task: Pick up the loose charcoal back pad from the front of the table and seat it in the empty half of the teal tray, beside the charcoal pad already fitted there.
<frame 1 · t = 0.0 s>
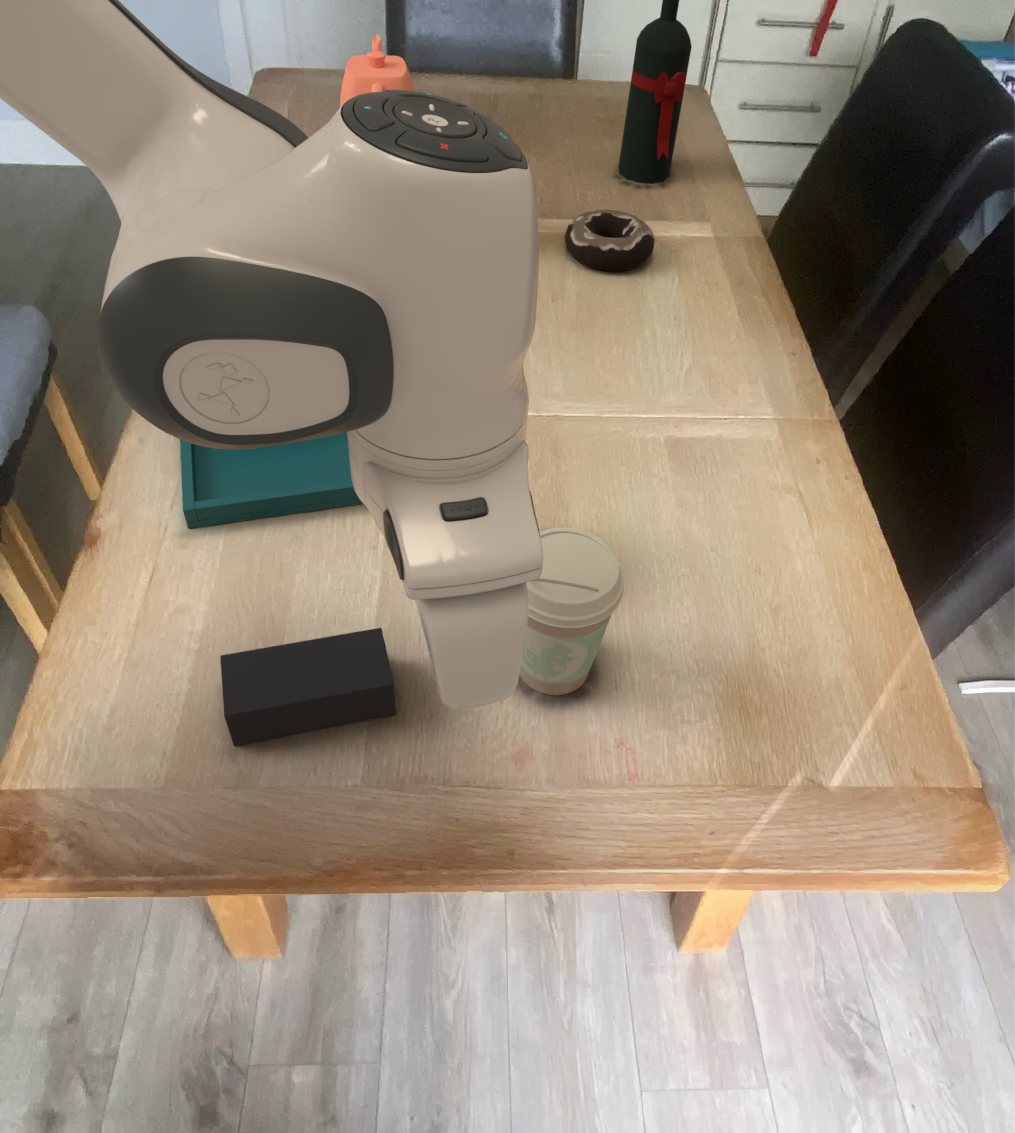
hand: (438, 623, 55), 15 cm above the table, tool pointing down, fingers open, 8 cm apart
mug: (466, 233, 122), on the table
teal tray: (275, 453, 89), on the table
coffee cup: (552, 667, 73), on the table
fitted pad: (269, 416, 91), resting on teal tray
donut: (607, 255, 119), on the table
loose pad: (312, 700, 69), on the table
ink box: (469, 568, 80), on the table
wine bottle: (645, 176, 137), on the table
teapot: (380, 136, 142), on the table
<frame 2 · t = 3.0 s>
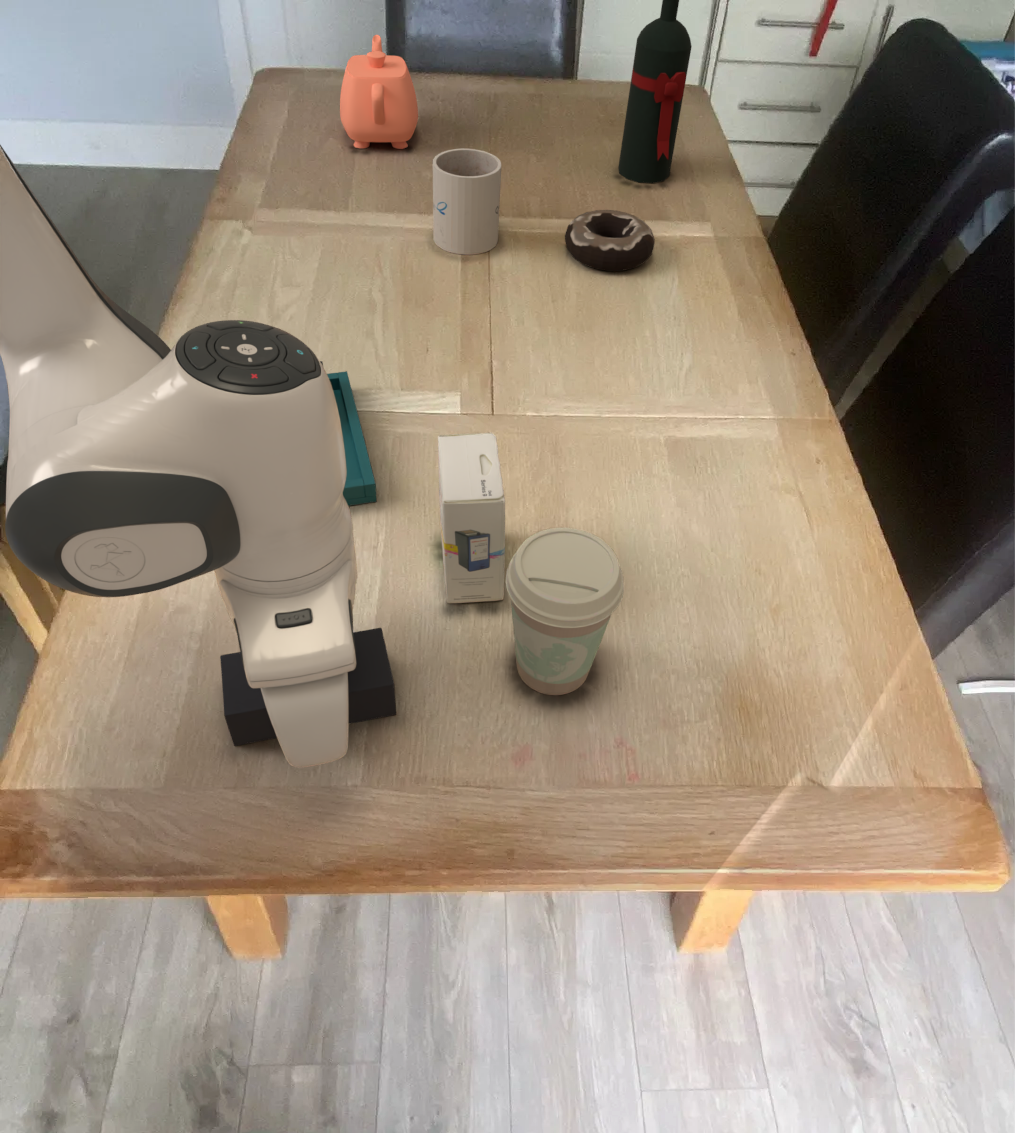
hand: (309, 687, 68), 2 cm above the table, tool pointing down, fingers closed on loose pad, 5 cm apart
loose pad: (312, 700, 69), on the table, touching gripper
everything else where it was.
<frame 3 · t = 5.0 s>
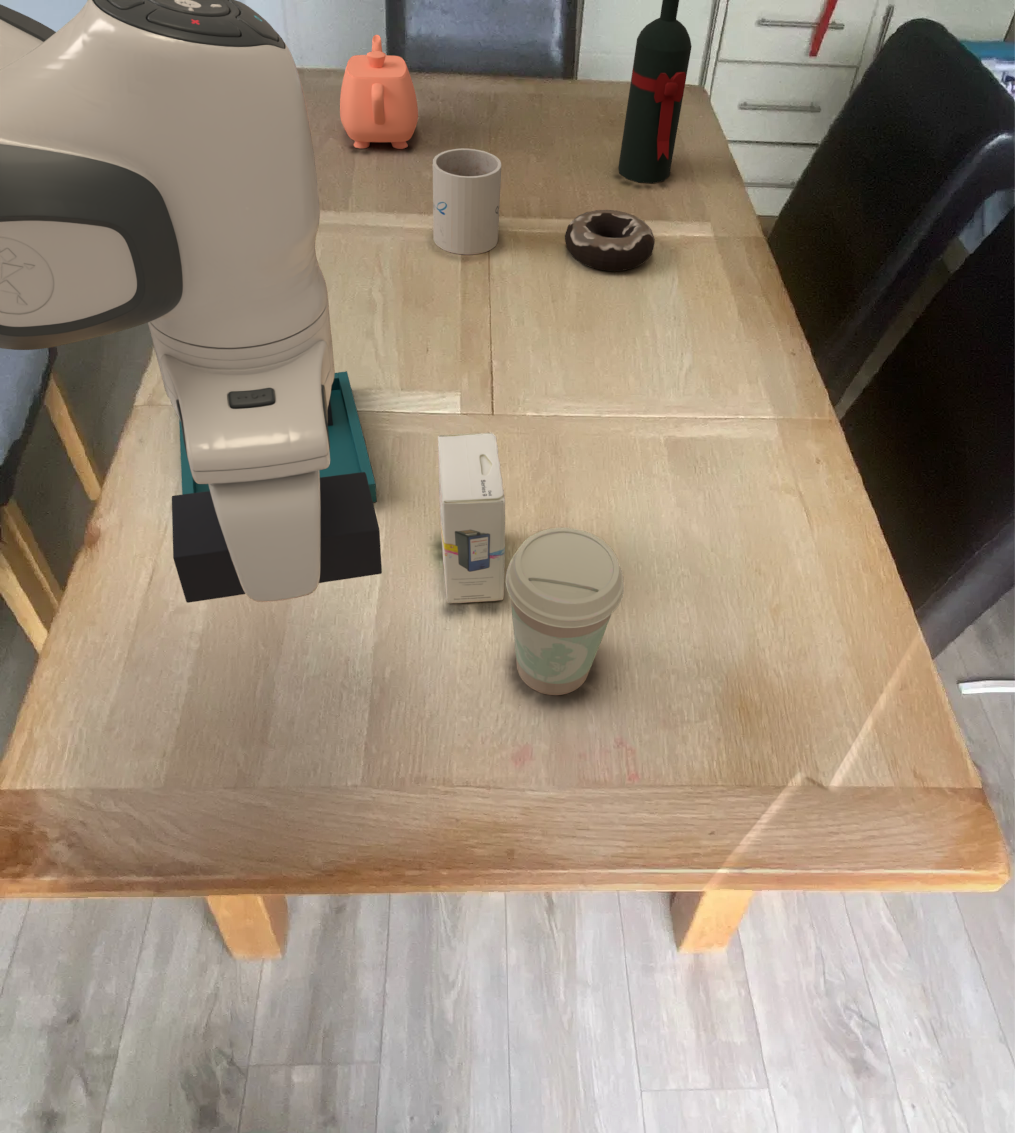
hand: (278, 538, 57), 17 cm above the table, tool pointing down, fingers closed on loose pad, 5 cm apart
loose pad: (282, 557, 58), point 15 cm above the table, touching gripper
everything else where it was.
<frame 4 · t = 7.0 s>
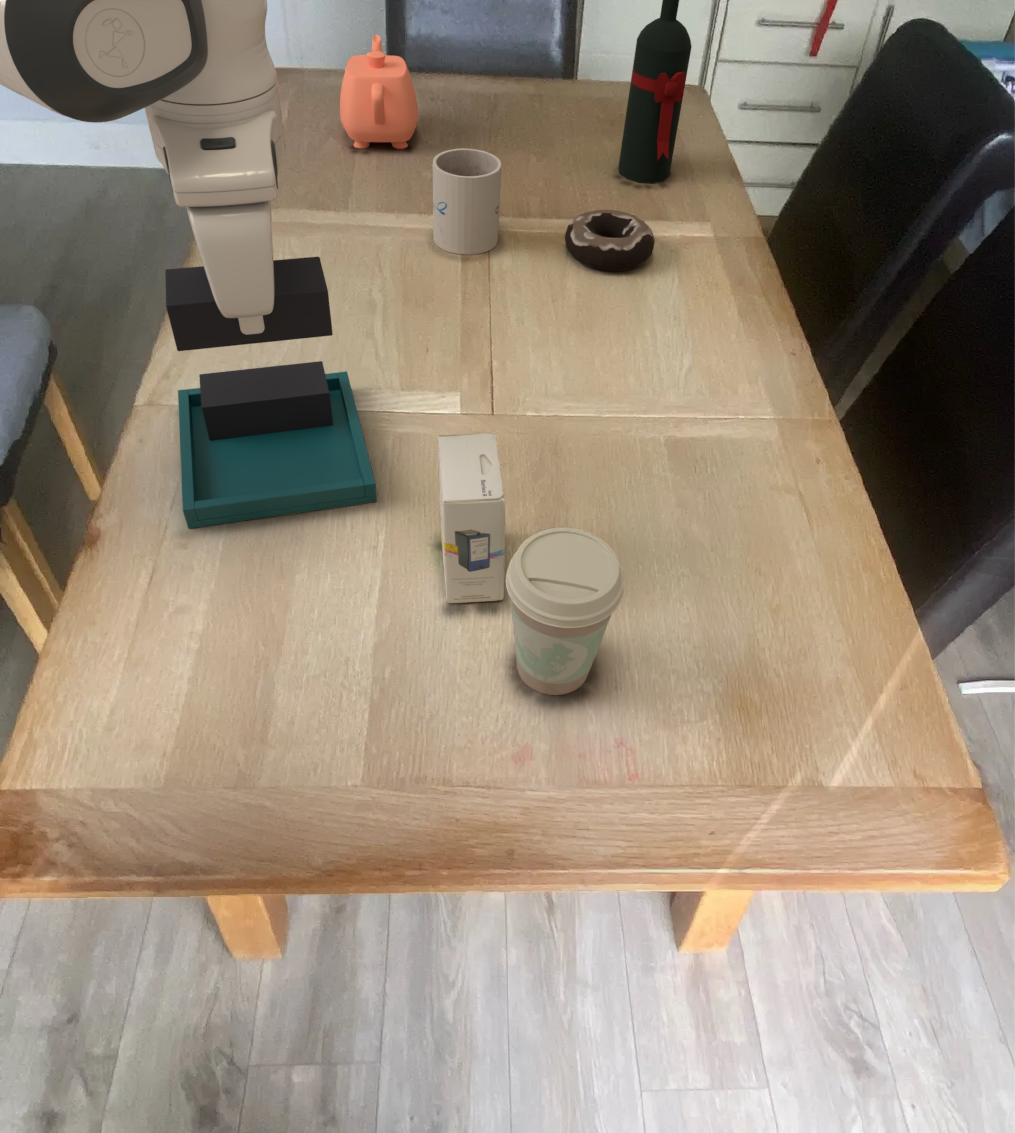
hand: (249, 306, 72), 19 cm above the table, tool pointing down, fingers closed on loose pad, 5 cm apart
loose pad: (254, 324, 73), point 17 cm above the table, touching gripper
everything else where it was.
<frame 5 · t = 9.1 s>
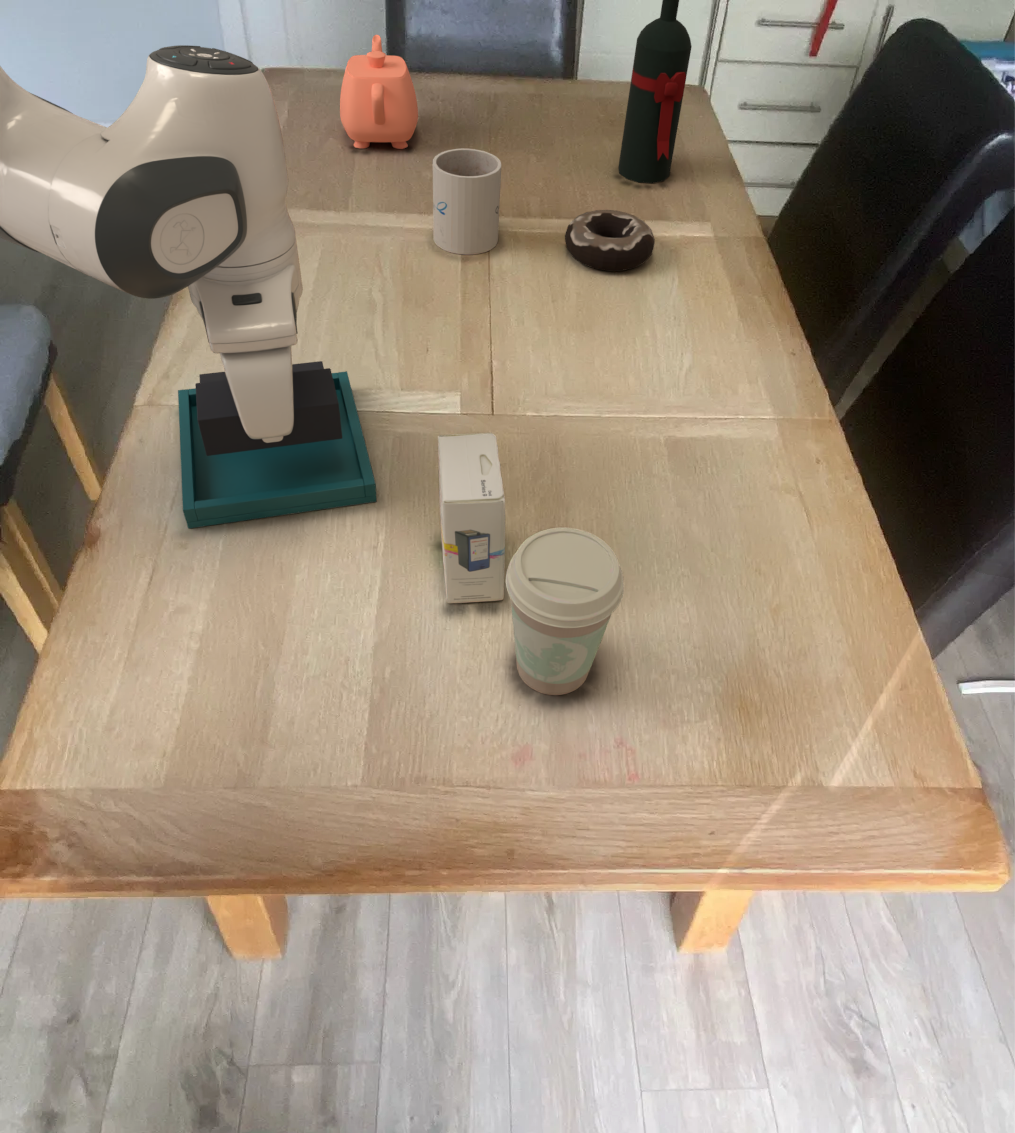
hand: (269, 414, 82), 7 cm above the table, tool pointing down, fingers closed on loose pad, 5 cm apart
loose pad: (272, 428, 83), point 5 cm above the table, touching gripper
everything else where it was.
when the fingers open (2 cm above the table, at t = 11.0 s): loose pad stays where it is, resting on teal tray.
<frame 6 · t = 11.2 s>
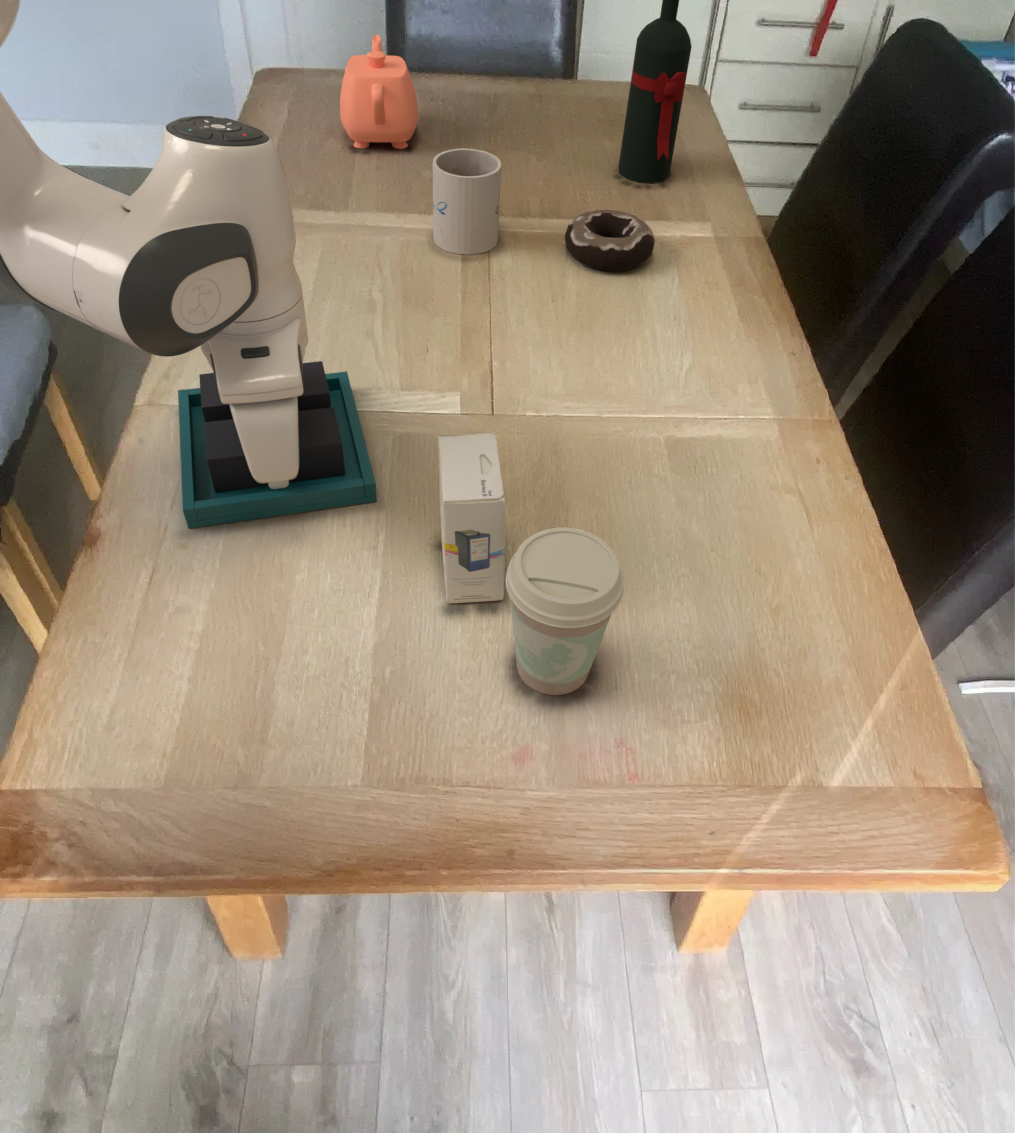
hand: (274, 454, 85), 2 cm above the table, tool pointing down, fingers open, 7 cm apart
loose pad: (278, 465, 86), point 1 cm above the table, touching teal tray
everything else where it was.
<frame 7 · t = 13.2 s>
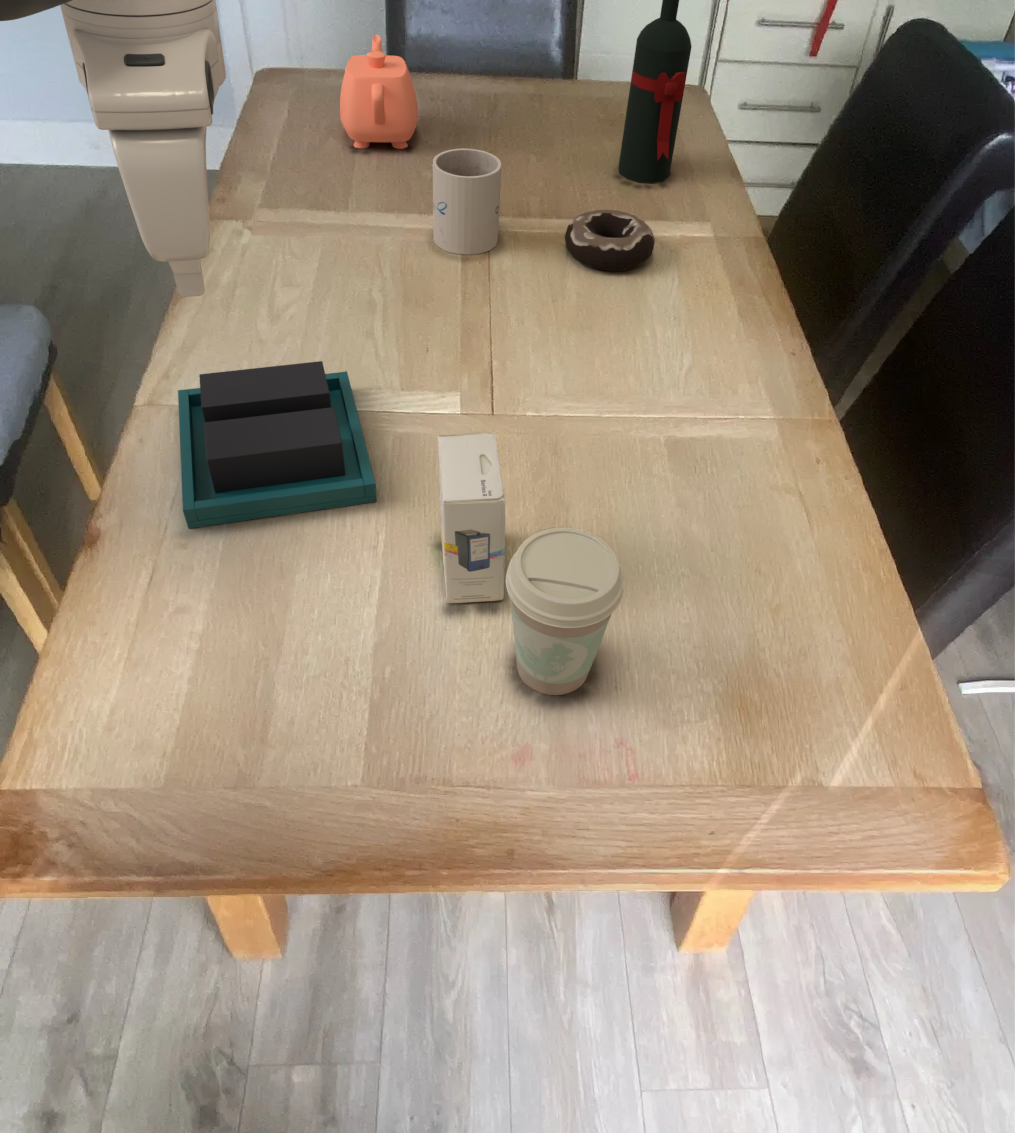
hand: (189, 258, 66), 24 cm above the table, tool pointing down, fingers open, 8 cm apart
nothing on the table moved.
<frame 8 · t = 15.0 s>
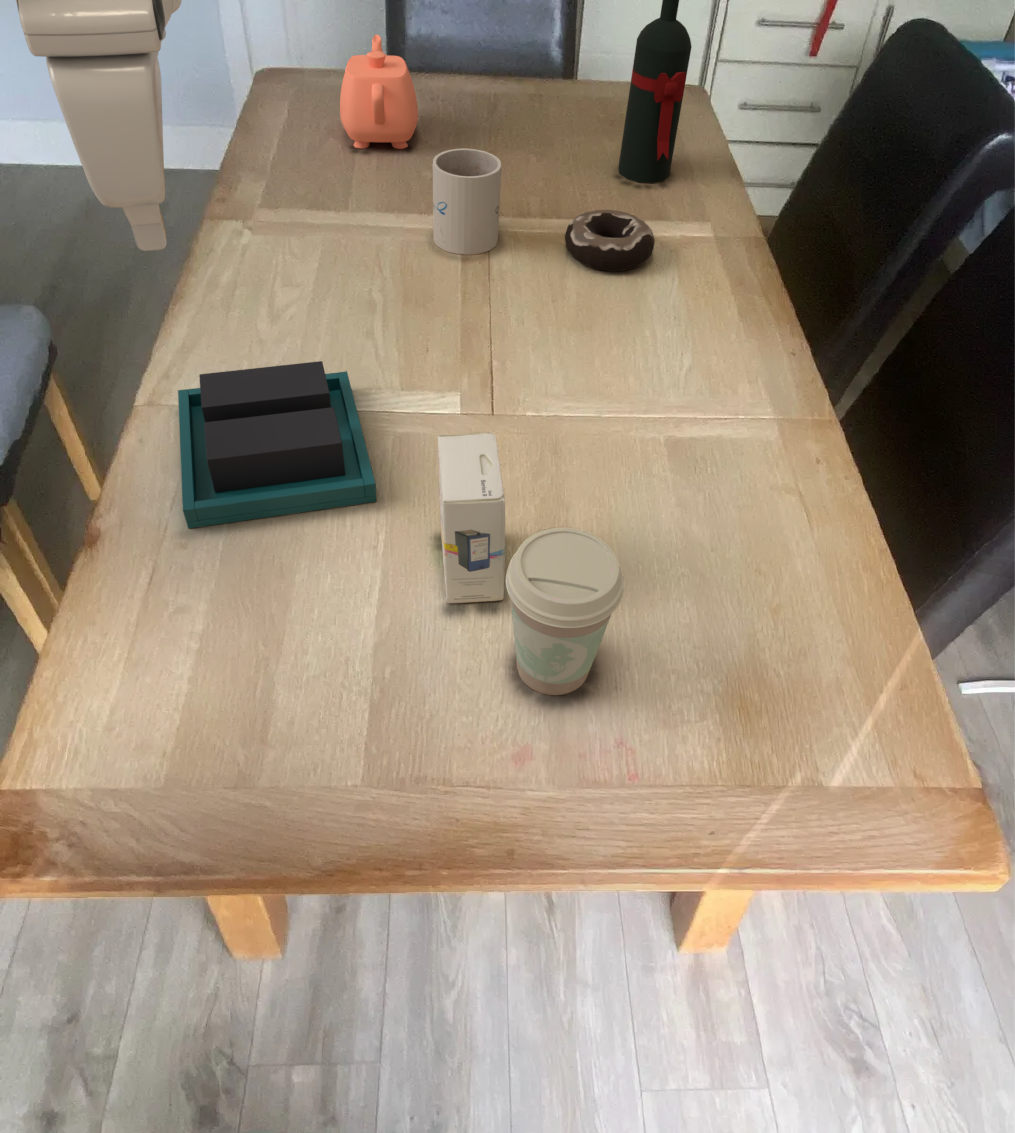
hand: (152, 211, 60), 29 cm above the table, tool pointing down, fingers open, 8 cm apart
nothing on the table moved.
at the end: loose pad 0.1 cm from the target spot in the teal tray, point 0.8 cm above the teal tray's base; loose pad tilted 0°; the gripper is holding nothing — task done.
